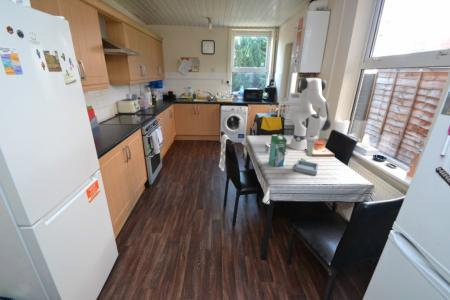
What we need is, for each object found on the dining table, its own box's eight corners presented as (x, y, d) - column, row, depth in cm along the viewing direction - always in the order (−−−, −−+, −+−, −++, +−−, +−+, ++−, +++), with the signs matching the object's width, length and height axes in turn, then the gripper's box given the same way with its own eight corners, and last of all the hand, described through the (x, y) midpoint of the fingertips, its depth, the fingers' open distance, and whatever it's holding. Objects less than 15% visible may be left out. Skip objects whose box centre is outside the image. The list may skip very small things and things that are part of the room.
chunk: (300, 161, 180) (301, 157, 178) (305, 162, 178) (306, 158, 176) (299, 163, 176) (300, 159, 175) (305, 164, 174) (306, 160, 173)
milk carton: (273, 167, 168) (277, 137, 159) (268, 162, 176) (271, 134, 167) (283, 166, 170) (287, 137, 162) (277, 161, 179) (281, 133, 170)
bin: (297, 163, 176) (298, 159, 175) (317, 167, 169) (318, 163, 168) (294, 170, 163) (295, 166, 161) (316, 175, 156) (317, 171, 155)
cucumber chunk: (306, 153, 164) (307, 147, 163) (312, 154, 162) (313, 148, 161) (305, 155, 161) (306, 149, 159) (311, 156, 159) (312, 150, 157)
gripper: (309, 132, 166) (306, 148, 171) (306, 138, 149) (303, 156, 154) (317, 133, 164) (314, 149, 168) (315, 140, 146) (312, 158, 151)
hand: (309, 153), depth 161 cm, fingers closed on cucumber chunk, 4 cm apart
